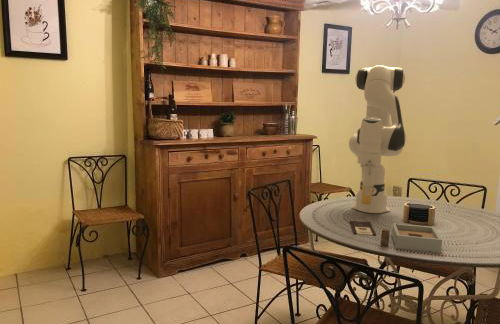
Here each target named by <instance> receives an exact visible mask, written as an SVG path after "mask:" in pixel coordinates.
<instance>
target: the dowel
mask: <svg viewBox="0 0 500 324" xmlns="http://www.w3.org/2000/svg"><path fill="white" fill-rule="evenodd" d="M371 192H372V187H371V188H370V194H369V195H365V186H364V184H363V186H362V201H361V203H362V204H365V205H370V204H371Z"/></svg>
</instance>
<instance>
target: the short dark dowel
mask: <svg viewBox="0 0 500 324" xmlns="http://www.w3.org/2000/svg"><path fill="white" fill-rule="evenodd" d="M390 233H391V232H390V230H389V229H386V228H382V229H381V233H380V236H381V237H380V238H381V239H380V246H382V247H385V248H386V247H389V243H390Z"/></svg>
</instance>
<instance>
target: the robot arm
mask: <svg viewBox="0 0 500 324" xmlns="http://www.w3.org/2000/svg"><path fill="white" fill-rule="evenodd" d="M354 81H355V84H356V88H357V89H359V90H362V91H364V93H363V94H364V99H365V101H366V111H365V112H366V113H365V114H366V115H365V118H362V120H361V124H360V128H358V129H357V131H356V132H357V133H354V134H352V135H351V137H350V138H349V141H348V147H349V148H348V149H349V150H350V151H351V152H352V154H353V155H355V156H356V157H357V164H360V168H361V179H360V180H361V181H360V183H359V190H358V191H357V192H356V193H355V202H354V203H353V204H352V205H351V209H354V210H356V211H357V210H358V211H359V212H364V213H369V214H384V213H387V212H388V213H389V212H390V211H391V209H390V208H389V207H388V206H387V204H388V194H386V193H385V188H386V183H385V176H386V174H385V173H386V170H385V166H383V165H382V163H381V162H382V157H396V156H399V155H400V154H401V153H402V151H403V148H404V147H405V145H406V141H407V135H406V131H405V128H404V123H403V117H402V111H401V105H400V101H399V98H398V96H397V95H395V92H397V91H399V90H401V88H403V86H404V84H405V82H406V74H405V72H404V69H403V68H402V67H396V66H395V67H392V66H391V67H390V66H385V65H382V64H381V65H380V64H378V65H375V66H373V67H362V68H360V69H358V71H357V73H356V75H355V80H354ZM363 184H364V186H365V195H369V194H370V188H371V187H372V192H371V204H370V205H365V204H362V203H361V201H362V186H363Z"/></svg>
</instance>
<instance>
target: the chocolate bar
mask: <svg viewBox="0 0 500 324" xmlns="http://www.w3.org/2000/svg"><path fill="white" fill-rule="evenodd" d="M371 223H372V222H371V221H360V220H358V221H357V220H349V224H350V227H351V230H352V233H353V235H361V236H374V237H376V236H377V233H376V232H375V230H374V228H373V225H372V224H371Z"/></svg>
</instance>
